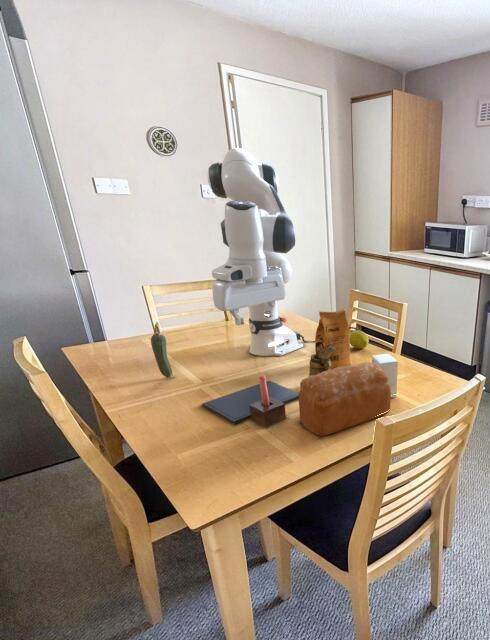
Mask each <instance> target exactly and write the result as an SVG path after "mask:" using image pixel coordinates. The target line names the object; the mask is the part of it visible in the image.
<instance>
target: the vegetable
mask: <svg viewBox="0 0 490 640" xmlns="http://www.w3.org/2000/svg"><path fill="white" fill-rule="evenodd" d="M150 345H151V349H152V352H153V355H154V358H155V361H156V364H157V367H158V370H159V372H160V373H161V375H162V376H163V377H165V378H166V379H169V378H172V377H173V375H174V374H173V369H172V366H171V362H170V360H169V358H168V351H167V339H166V337H165V336H164V335H163V334H162V333H161V327H160V324H159V321H155V324H154V328H153V334H152V335H151V337H150Z"/></svg>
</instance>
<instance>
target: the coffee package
mask: <svg viewBox="0 0 490 640" xmlns="http://www.w3.org/2000/svg"><path fill="white" fill-rule="evenodd" d="M318 315H319V321H318V324H317V327H316V332H315V337H314V341H315V342H314V345H315V346H314V350H315V354H318V353H319V351H320V350H321V349H322V348H324V347H326V346H328V345H332V346H335V347H336V351H335V353H334V355H333V356H332V357H331V358H330V362H331V366H330V368H331V370H332V369H334V368H337V367H342V366H348V365H351V344H350V329H349V327H350V325H349V322H348V319H347V318H348V317H347V313H346V309H345V308H342V309H339V310H336V311H319V314H318Z"/></svg>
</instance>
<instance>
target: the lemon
mask: <svg viewBox="0 0 490 640" xmlns="http://www.w3.org/2000/svg"><path fill="white" fill-rule="evenodd" d="M349 334H350V346H351V347H353V348H354V349H357V350H364V349H365V348H367V346H369V341H370V339H369V336H368V334H367V333H366V332H364V331H362V330H358V331H357V330H353V331H351V332H349ZM364 347H365V348H364Z"/></svg>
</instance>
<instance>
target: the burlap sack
mask: <svg viewBox="0 0 490 640" xmlns="http://www.w3.org/2000/svg"><path fill="white" fill-rule="evenodd" d="M335 351H336V347H335V346H332V345H328V346H326V347H324V348H322V349H321V350H320V351H319V353H318V354H316V353H313V354H312V355H311V356H310V359H309V363H308V364H309V373H308V377H309V376H315V375H317V374H319V373H322V372H324V371H328V370H332V369H331V368H330V366H331V362H330V358H331V357H332V356H333V355H334V353H335Z"/></svg>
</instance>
